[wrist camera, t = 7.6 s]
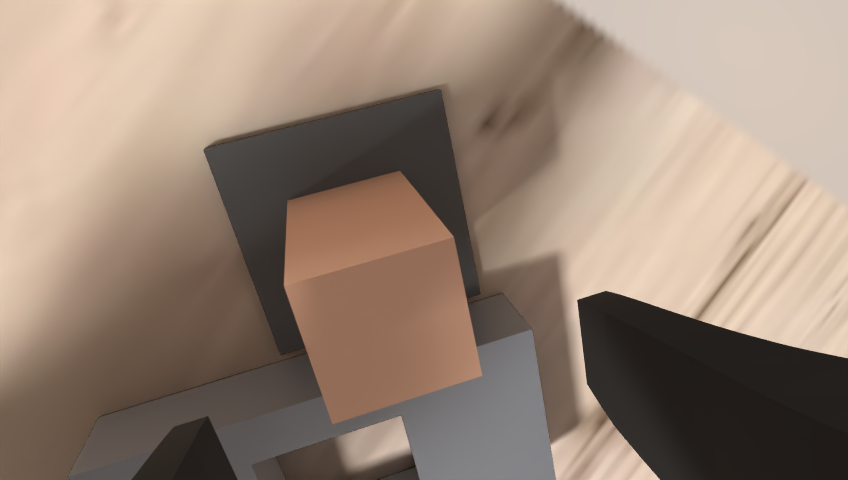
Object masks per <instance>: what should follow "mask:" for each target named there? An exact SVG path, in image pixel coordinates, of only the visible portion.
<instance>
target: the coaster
mask: <svg viewBox="0 0 848 480" xmlns="http://www.w3.org/2000/svg"><path fill="white" fill-rule="evenodd" d="M204 153H205V155H206V158H207V161H208V163H209V166H210V169H211V171H212V174H213V176H214V179H215V182H216V184H217V187H218V190H219V192H220V195H221V198H222V200H223V203H224V206H225V208H226V211H227V214H228V216H229V219H230V222H231V224H232V227H233V229H234V232H235V235H236V237H237V240H238V243H239V245H240V248H241V251H242V253H243V256H244V259H245V261H246V264H247V267H248V269H249V272H250V275H251V277H252V280H253V283H254V285H255V288H256V290H257V293H258V296H259V298H260V301H261V304H262V306H263V309H264V312H265V314H266V317H267V320H268V322H269V325H270V328H271V330H272V333H273V336H274V338H275V341H276V344H277V346H278V349H279V351H280V354H281V355H282V354H286V353H289V352H292V351H295V350H299V349H302V348H305V345H304V342H303V339H302V336H301V333H300V330H299V328H298V325H297V322H296V319H295V316H294V313H293V311H292V308H291V305H290V302H289V299H288V296H287V293H286V291H285V288H284V270H285V246H286V222H287V201H288V200H292V199H295V198H299V197H303V196H307V195H310V194H314V193H318V192H322V191H325V190H329V189H333V188H337V187H340V186H344V185H348V184H352V183H355V182H359V181H363V180H367V179H370V178H374V177H378V176H382V175H385V174H389V173H393V172H397V171H401V173H402V174H403V175H404V176H405V177H406V179H407V180H408V181H409V182H410V184H411V185H412V186H413V187H414V189H415V190H416V191H417V192H418V193H419V195H420V196H421V197H422V198H423V200H424V201H425V202H426V203H427V205H428V206H429V207H430V208H431V209H432V211H433V212H434V213H435V214H436V216H437V217H438V218H439V219H440V220H441V222H442V223H443V224H444V225H445V227H446V228H447V229H448V230H449V232H450V233H451V234H452V235H453V236H454V240H455V245H456V250H457V254H458V259H459V264H460V269H461V274H462V279H463V284H464V289H465V294H466V298H469V297H472V296H476V295H479V294H480V288H479V283H478V278H477V273H476V268H475V263H474V258H473V252H472V247H471V242H470V237H469V232H468V227H467V222H466V217H465V211H464V206H463V201H462V196H461V191H460V186H459V181H458V175H457V170H456V165H455V160H454V155H453V150H452V145H451V140H450V134H449V129H448V124H447V119H446V114H445V109H444V104H443V98H442V93H441V90H438V89H437V90H433V91H429V92H426V93H422V94H418V95H414V96H410V97H406V98H402V99H398V100H394V101H390V102H386V103H382V104H378V105H374V106H370V107H366V108H362V109H358V110H354V111H350V112H346V113H342V114H338V115H334V116H330V117H326V118H322V119H318V120H314V121H310V122H306V123H302V124H298V125H294V126H290V127H286V128H282V129H278V130H274V131H270V132H266V133H262V134H258V135H254V136H250V137H246V138H242V139H238V140H234V141H231V142H227V143H223V144H219V145H215V146H211V147H207V148H205V149H204Z"/></svg>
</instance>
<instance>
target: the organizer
mask: <svg viewBox="0 0 848 480" xmlns="http://www.w3.org/2000/svg"><path fill="white" fill-rule="evenodd" d="M468 308H469V313H470V318H471V323H472V328H473V333H474V337H475V342H476V347H477V352H478V357H479V362H480V367H481V372H482V376H480V377H477V378H474V379H471V380H468V381H465V382H462V383H459V384H455V385H452V386H449V387H446V388H443V389H440V390H437V391H434V392H431V393H428V394H425V395H422V396H418V397H415V398H412V399H409V400H406V401H403V402H400V403H397V404H394V405H391V406H388V407H385V408H381V409H378V410H375V411H372V412H369V413H366V414H363V415H360V416H357V417H354V418H351V419H348V420H344V421H341V422H338V423H335V424H332V422H331V419H330V416H329V413H328V410H327V407H326V405H325V402H324V399H323V396H322V393H321V390H320V387H319V385H318V382H317V379H316V376H315V373H314V370H313V368H312V365H311V362H310V359H309V356H308V353H306V354H303V355H300V356H297V357H293V358H290V359H287V360H284V361H280V362H277V363H274V364H271V365H267V366H264V367H261V368H258V369H254V370H251V371H248V372H245V373H241V374H238V375H235V376H232V377H228V378H225V379H222V380H218V381H215V382H212V383H209V384H205V385H202V386H199V387H196V388H192V389H189V390H186V391H183V392H179V393H176V394H173V395H170V396H166V397H163V398H160V399H157V400H153V401H150V402H147V403H144V404H140V405H137V406H134V407H130V408H127V409H124V410H121V411H117V412H114V413H111V414H108V415H104V416H101V417H98V419H97V421H96V423H95V425H94V427H93V429H92V431H91V433H90V435H89V437H88V439H87V441H86V443H85V444H84V446H83V448H82V450H81V452H80V454H79V456H78V458H77V460H76V462H75V464H74V466H73V468H72V469H71V471H70V473H69V475H68V479H69V480H132V478H133V477H134V476H135V474H136V473H137V472H138V471H139V469H140V468H141V467H142V465H143V464H144V463H145V462H146V460H147V459H148V458H149V456H150V455H151V454H152V453H153V451H154V450H155V449H156V447H157V446H158V445H159V444H160V442H161V441H162V440H163V439H164V438H165V436H166V435H167V434H168V433H169V432H170V431H171V429H172V428H173V427H175V426H178V425H181V424H184V423H187V422H190V421H194V420H197V419H200V418H203V417H206V416H208V417H209V419H210V421H211V423H212V425H213V427H214V430H215V432H216V434H217V436H218V438H219V440H220V443H221V445H222V447H223V449H224V451H225V453H226V456H227V458H228V460H229V462H230V464H231V466H232V468H233V471H234V473H235V475H236V477H237V479H238V480H286V479H285V477H284V475H283V472H282V470H281V467H280V465H279V463H278V460H277V458H276V456H279V455H282V454H285V453H288V452H291V451H294V450H297V449H300V448H303V447H306V446H309V445H312V444H315V443H318V442H321V441H324V440H327V439H331V438H334V437H337V436H340V435H343V434H346V433H349V432H352V431H355V430H358V429H361V428H364V427H367V426H370V425H373V424H376V423H379V422H382V421H385V420H388V419H391V418H394V417H397V416H400V415H401V416H402V420H403V423H404V426H405V430H406V433H407V437H408V440H409V444H410V447H411V451H412V454H413V458H414V461H415V465H416V467H414V468H411V469H408V470H405V471H402V472H399V473H396V474H393V475H390V476H387V477H384V478H382V479H379V480H556V478H555V471H554V465H553V458H552V452H551V446H550V439H549V433H548V427H547V420H546V414H545V407H544V401H543V395H542V388H541V382H540V376H539V369H538V363H537V357H536V350H535V344H534V337H533V331H532V328H531V327H530V326H529V325H528V324H527V322H526V321H525V320H524V319H523V317H522V316H521V315H520V314H519V313H518V311H517V310H516V309H515V308H514V307H513V305H512V304H511V303H510V302H509V300H508V299H507V298H506V297H505V296H504V294H503V293H502V294H499V295H495V296H492V297H489V298H486V299H482V300H479V301H476V302H473V303H469V304H468Z"/></svg>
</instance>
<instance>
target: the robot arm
mask: <svg viewBox="0 0 848 480" xmlns="http://www.w3.org/2000/svg"><path fill="white" fill-rule="evenodd" d="M577 301H578V310H579V318H580V327H581V336H582V344H583V353H584V361H585V370H586V378H587V385H588V386H589V388H590V389H591V391H592V392H593V394H594V396H595V397H596V399H597V400H598V402H599V403H600V405H601V407H602V408H603V410H604V411H605V413H606V414H607V415H608V417H609V418H610V420H611V421H612V423H613V424H614V426H615V427H616V428H617V430H618V431H619V432H620V433H621V434H622V436H623V437H624V438H625V439H626V440H627V441H628V443H629V444H630V445H631V446H632V447H633V449H634V450H635V451H636V452H637V453H638V454H639V456H640V457H641V458H642V459H643V460H644V462H645V463H646V464H647V465H648V466H649V467H650V468H651V470H652V471H653V472H654V473H655V474H656V475H657V477H658V478H659V479H660V480H848V358H843V357H838V356H833V355H828V354H824V353H819V352H814V351H809V350H804V349H800V348H796V347H791V346H787V345H783V344H779V343H775V342H771V341H768V340H764V339H760V338H757V337H753V336H749V335H746V334H742V333H738V332H735V331H731V330H728V329H725V328H721V327H718V326H715V325H712V324H708V323H705V322H702V321H699V320H696V319H693V318H690V317H686V316H683V315H680V314H677V313H674V312H671V311H668V310H665V309H662V308H659V307H656V306H653V305H650V304H647V303H644V302H641V301H638V300H635V299H632V298H629V297H626V296H623V295H619V294H616V293H612V292H608V291H604V292H601V293H598V294H595V295H592V296H588V297H585V298H582V299H579V300H577ZM132 480H238V479H237V477H236V475H235V473H234V471H233V468H232V466H231V464H230V462H229V460H228V458H227V456H226V453H225V451H224V449H223V447H222V445H221V443H220V440H219V438H218V436H217V434H216V432H215V430H214V427H213V425H212V423H211V421H210V419H209V417H208V416H206V417H203V418H200V419H197V420H194V421H190V422H187V423H184V424H181V425H178V426H175V427H173V428H172V429H171V431H170V432H169V433H168V434H167V435H166V436H165V438H164V439H163V440H162V441H161V442H160V444H159V445H158V446H157V447H156V449H155V450H154V451H153V453H152V454H151V455H150V456H149V458H148V459H147V460H146V462H145V463H144V464H143V465H142V467H141V468H140V469H139V471H138V472H137V473H136V474H135V476H134V477H133V478H132Z"/></svg>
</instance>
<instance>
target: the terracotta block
mask: <svg viewBox="0 0 848 480" xmlns="http://www.w3.org/2000/svg"><path fill="white" fill-rule="evenodd" d="M284 288H285V291H286V293H287V296H288V299H289V302H290V305H291V308H292V311H293V313H294V316H295V319H296V322H297V325H298V328H299V330H300V333H301V336H302V339H303V342H304V345H305V348H306V350H307V353H308V356H309V359H310V362H311V365H312V368H313V370H314V373H315V376H316V379H317V382H318V385H319V387H320V390H321V393H322V396H323V399H324V402H325V405H326V407H327V410H328V413H329V416H330V419H331V422H332V424H335V423H338V422H341V421H344V420H348V419H351V418H354V417H357V416H360V415H363V414H366V413H369V412H372V411H375V410H378V409H381V408H385V407H388V406H391V405H394V404H397V403H400V402H403V401H406V400H409V399H412V398H415V397H418V396H422V395H425V394H428V393H431V392H434V391H437V390H440V389H443V388H446V387H449V386H452V385H455V384H459V383H462V382H465V381H468V380H471V379H474V378H477V377H480V376H482V372H481V367H480V362H479V357H478V352H477V347H476V342H475V337H474V333H473V328H472V323H471V318H470V313H469V308H468V303H467V298H466V294H465V289H464V284H463V279H462V274H461V269H460V264H459V259H458V254H457V250H456V245H455V240H454V236H453V235H452V234H451V233H450V232H449V230H448V229H447V228H446V227H445V225H444V224H443V223H442V222H441V220H440V219H439V218H438V217H437V216H436V214H435V213H434V212H433V211H432V209H431V208H430V207H429V206H428V205H427V203H426V202H425V201H424V200H423V198H422V197H421V196H420V195H419V193H418V192H417V191H416V190H415V189H414V187H413V186H412V185H411V184H410V182H409V181H408V180H407V179H406V177H405V176H404V175H403V174H402V173H401V171H397V172H393V173H389V174H385V175H382V176H378V177H374V178H370V179H367V180H363V181H359V182H355V183H352V184H348V185H344V186H340V187H337V188H333V189H329V190H325V191H322V192H318V193H314V194H310V195H307V196H303V197H299V198H295V199H292V200H288V201H287V222H286V246H285V270H284Z"/></svg>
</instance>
